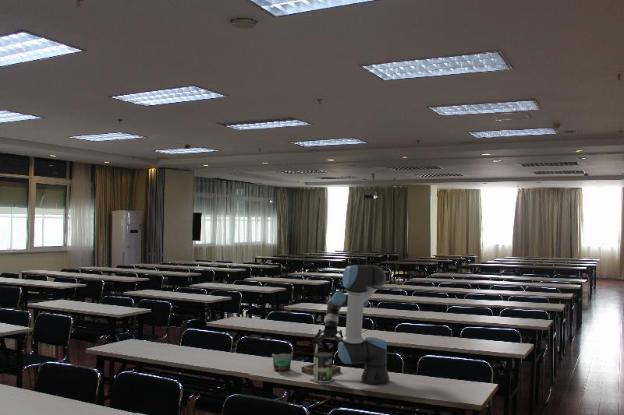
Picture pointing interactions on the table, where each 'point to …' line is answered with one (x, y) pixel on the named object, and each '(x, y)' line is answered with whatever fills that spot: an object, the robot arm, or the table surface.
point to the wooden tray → (310, 369)
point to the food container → (282, 362)
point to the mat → (323, 383)
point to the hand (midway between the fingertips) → (327, 356)
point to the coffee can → (322, 367)
